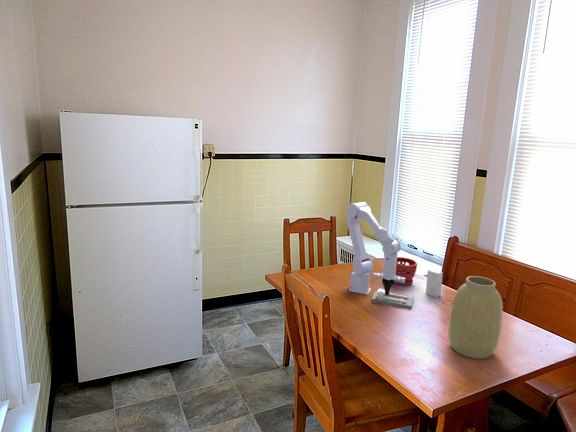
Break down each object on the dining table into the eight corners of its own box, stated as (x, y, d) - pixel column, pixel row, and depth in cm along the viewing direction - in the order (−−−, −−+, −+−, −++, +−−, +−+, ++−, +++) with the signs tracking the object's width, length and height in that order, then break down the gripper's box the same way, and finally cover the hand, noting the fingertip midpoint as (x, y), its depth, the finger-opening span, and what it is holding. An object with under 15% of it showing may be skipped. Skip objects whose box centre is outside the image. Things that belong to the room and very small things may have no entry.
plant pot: (389, 285, 212) (391, 263, 210) (389, 276, 225) (391, 255, 222) (415, 288, 209) (418, 266, 207) (413, 279, 222) (416, 258, 219)
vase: (503, 350, 152) (515, 282, 146) (485, 368, 140) (496, 294, 134) (458, 333, 164) (467, 269, 158) (437, 347, 152) (446, 279, 146)
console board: (371, 301, 191) (371, 296, 190) (375, 294, 200) (375, 289, 199) (411, 309, 184) (411, 304, 184) (413, 301, 193) (414, 296, 193)
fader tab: (377, 296, 192) (377, 291, 192) (378, 293, 196) (379, 288, 195) (383, 297, 191) (384, 292, 191) (384, 294, 195) (385, 289, 194)
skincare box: (441, 295, 201) (443, 272, 199) (436, 297, 198) (438, 273, 196) (429, 291, 206) (432, 268, 203) (424, 293, 203) (427, 270, 201)
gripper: (372, 266, 188) (370, 294, 191) (404, 271, 183) (401, 300, 186) (375, 262, 195) (372, 289, 198) (406, 267, 190) (403, 294, 192)
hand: (387, 294), depth 192 cm, fingers closed
